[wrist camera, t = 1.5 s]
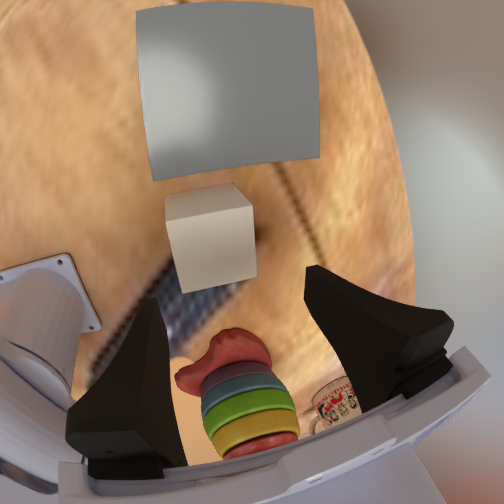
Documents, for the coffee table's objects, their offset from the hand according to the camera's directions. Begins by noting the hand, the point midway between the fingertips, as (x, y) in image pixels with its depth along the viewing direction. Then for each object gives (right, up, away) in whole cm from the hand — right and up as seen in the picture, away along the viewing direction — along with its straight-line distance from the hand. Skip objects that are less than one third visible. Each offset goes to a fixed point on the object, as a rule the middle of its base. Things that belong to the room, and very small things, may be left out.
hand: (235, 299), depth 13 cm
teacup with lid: (+14, -22, +29) cm, 39 cm away
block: (-3, +5, +8) cm, 10 cm away
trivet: (-1, +14, +3) cm, 14 cm away
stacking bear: (-2, -11, +17) cm, 20 cm away
